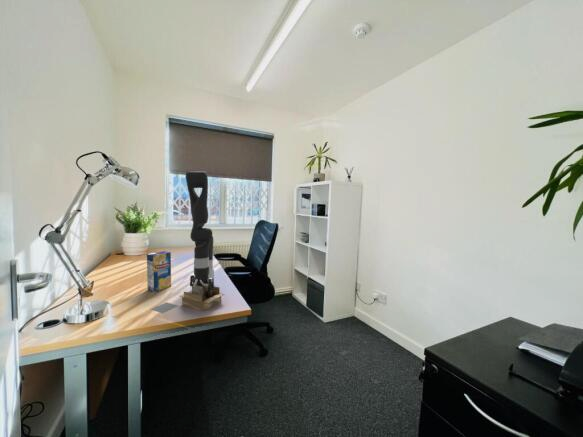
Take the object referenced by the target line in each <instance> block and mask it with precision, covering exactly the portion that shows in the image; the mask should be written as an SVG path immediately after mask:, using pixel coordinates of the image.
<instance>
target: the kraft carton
mask: <svg viewBox="0 0 583 437" xmlns="http://www.w3.org/2000/svg"><path fill="white" fill-rule="evenodd" d="M220 290H221V288H220V287H219V286H214V289H212V297H211V298H209V299H207V300H205V301H203V302H202V295H197V294H193V293H192V290H191V291H183V294H180V295H179V297H180V298H181V305H182V307H186V308H190V309H193V310H198V311H201V312H204V311H206V310H208V309H209V308H211V307H213V306H215V305H217V304H218V303H220V302H222V296H224V295H225V294H224V293H222V292H221V291H220Z"/></svg>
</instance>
